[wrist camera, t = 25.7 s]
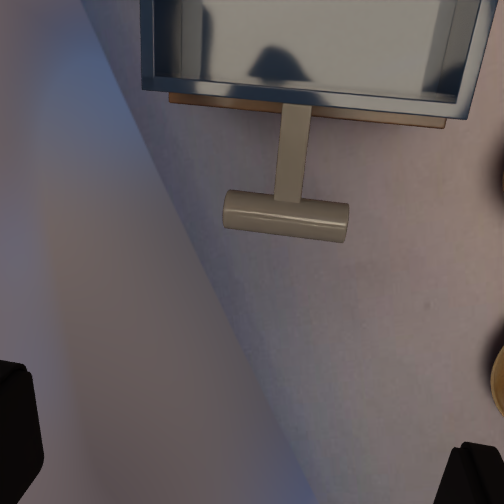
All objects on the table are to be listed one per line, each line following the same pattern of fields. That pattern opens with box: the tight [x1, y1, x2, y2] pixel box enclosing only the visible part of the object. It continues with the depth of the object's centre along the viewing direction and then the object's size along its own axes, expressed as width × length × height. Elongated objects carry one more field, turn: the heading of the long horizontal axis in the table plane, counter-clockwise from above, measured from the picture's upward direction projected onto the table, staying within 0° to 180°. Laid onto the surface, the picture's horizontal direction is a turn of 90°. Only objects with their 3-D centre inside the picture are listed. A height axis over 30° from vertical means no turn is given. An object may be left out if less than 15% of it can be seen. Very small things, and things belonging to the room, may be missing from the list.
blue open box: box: [140, 0, 498, 243], centre depth 18 cm, size 13×19×5 cm
